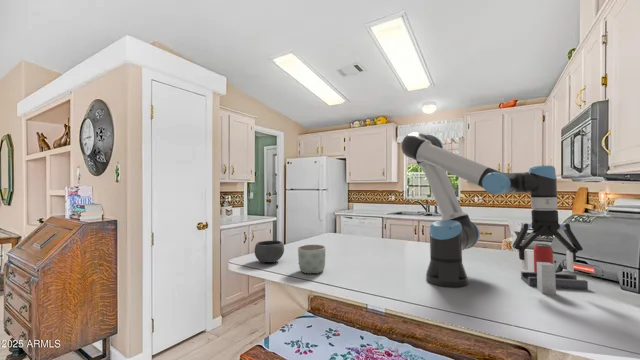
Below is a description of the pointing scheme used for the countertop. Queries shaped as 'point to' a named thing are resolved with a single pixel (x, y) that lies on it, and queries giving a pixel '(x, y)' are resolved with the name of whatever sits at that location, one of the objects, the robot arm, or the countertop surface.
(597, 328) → the countertop surface
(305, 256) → the planter
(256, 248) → the bowl
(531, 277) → the dark grey tray
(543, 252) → the beer can
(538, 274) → the grey rectangular block
